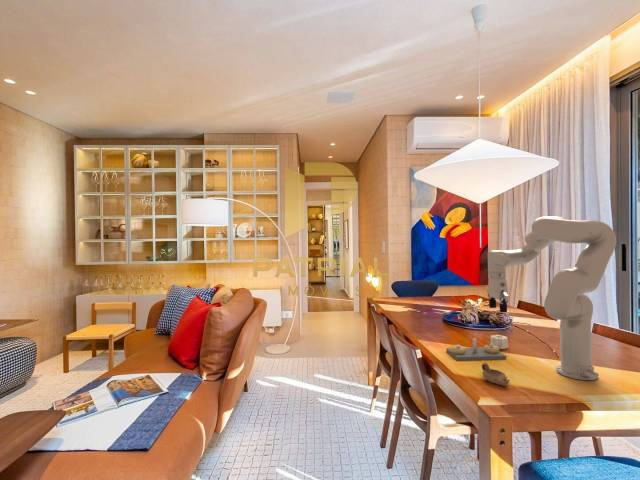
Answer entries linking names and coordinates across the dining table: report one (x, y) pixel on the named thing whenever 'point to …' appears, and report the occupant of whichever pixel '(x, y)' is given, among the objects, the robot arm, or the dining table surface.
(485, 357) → the gear board
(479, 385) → the dining table surface
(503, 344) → the loose gear
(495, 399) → the dining table surface
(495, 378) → the brown duck figurine
